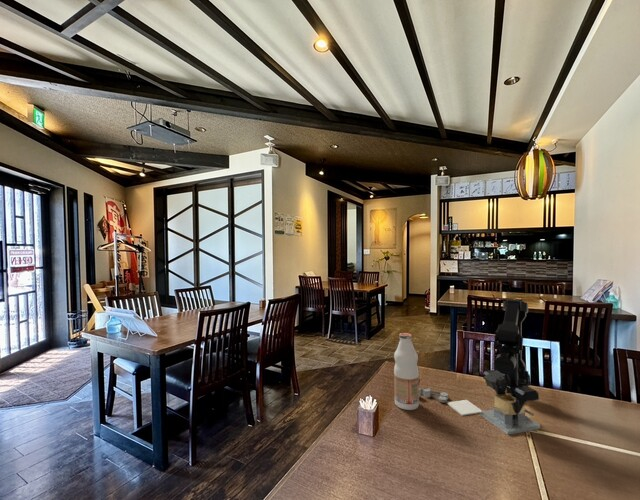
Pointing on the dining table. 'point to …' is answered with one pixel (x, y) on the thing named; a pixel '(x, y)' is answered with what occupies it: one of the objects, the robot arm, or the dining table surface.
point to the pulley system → (428, 393)
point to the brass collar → (506, 403)
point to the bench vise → (510, 421)
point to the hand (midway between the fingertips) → (509, 408)
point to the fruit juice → (406, 374)
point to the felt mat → (464, 407)
